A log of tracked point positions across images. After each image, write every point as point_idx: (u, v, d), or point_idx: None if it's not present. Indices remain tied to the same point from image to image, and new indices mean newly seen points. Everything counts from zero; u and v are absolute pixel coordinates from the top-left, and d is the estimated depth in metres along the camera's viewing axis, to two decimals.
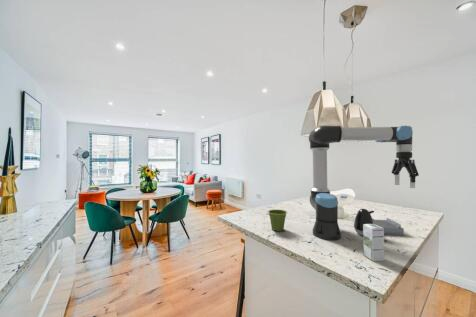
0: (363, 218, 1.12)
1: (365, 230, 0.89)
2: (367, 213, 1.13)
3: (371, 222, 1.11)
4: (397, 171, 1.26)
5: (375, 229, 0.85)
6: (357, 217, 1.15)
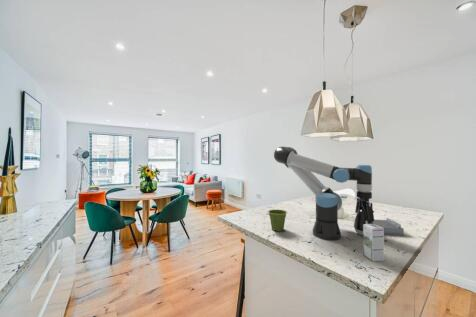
0: (363, 218, 1.12)
1: (365, 230, 0.89)
2: None
3: None
4: None
5: (375, 229, 0.85)
6: (357, 217, 1.15)
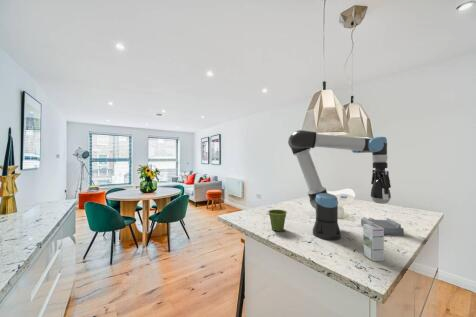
0: (380, 186, 1.19)
1: (365, 230, 0.89)
2: None
3: None
4: None
5: (375, 229, 0.85)
6: (374, 186, 1.22)
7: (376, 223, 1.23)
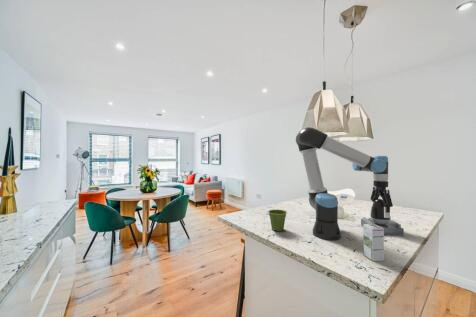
0: (380, 207, 1.20)
1: (365, 230, 0.89)
2: (383, 202, 1.21)
3: None
4: (375, 198, 1.29)
5: (375, 229, 0.85)
6: (373, 207, 1.23)
7: (376, 223, 1.23)
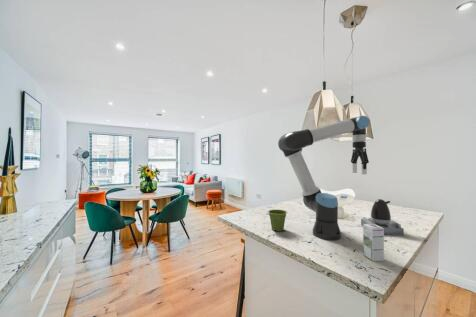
0: (380, 208, 1.20)
1: (365, 230, 0.89)
2: (384, 203, 1.20)
3: (388, 211, 1.19)
4: (354, 160, 1.36)
5: (375, 229, 0.85)
6: (374, 207, 1.23)
7: None
